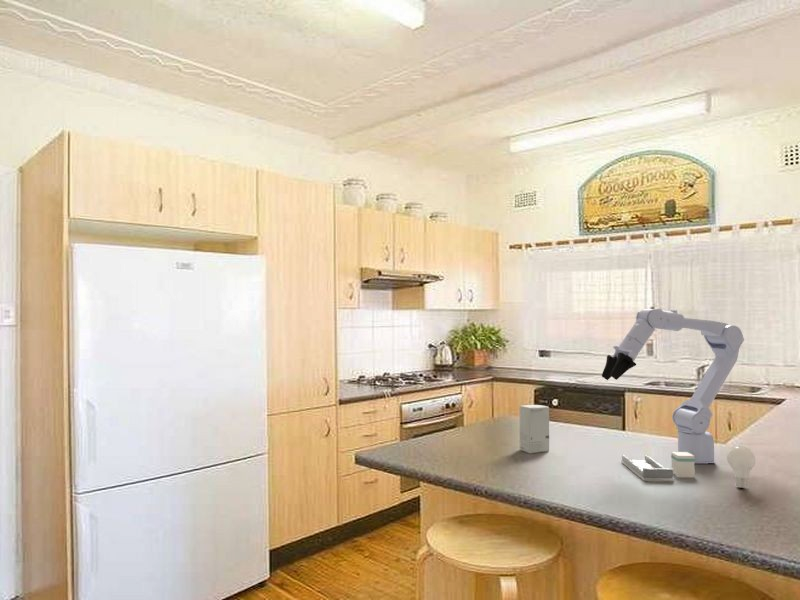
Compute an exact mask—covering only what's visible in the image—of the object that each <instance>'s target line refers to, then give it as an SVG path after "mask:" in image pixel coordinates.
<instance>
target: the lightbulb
mask: <svg viewBox="0 0 800 600" xmlns="http://www.w3.org/2000/svg"><path fill="white" fill-rule="evenodd" d="M726 460H727V462H728V464H729V466H730V467H731V469H732V472H733V475H734V476H735V477H734V478H735V486H736V487H738V489H740V488H744V489H746V488H748V478H749V476H750V475H749V474H750V473H751V471H752V469H753V468H754V467H755V464H756V456H755V454H754V452H753V451H752V450H751V449H750V448H748V447H746V446H743V445H735V446H732V447H731V448H730V449H729V450H728V452H727V454H726Z"/></svg>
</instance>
